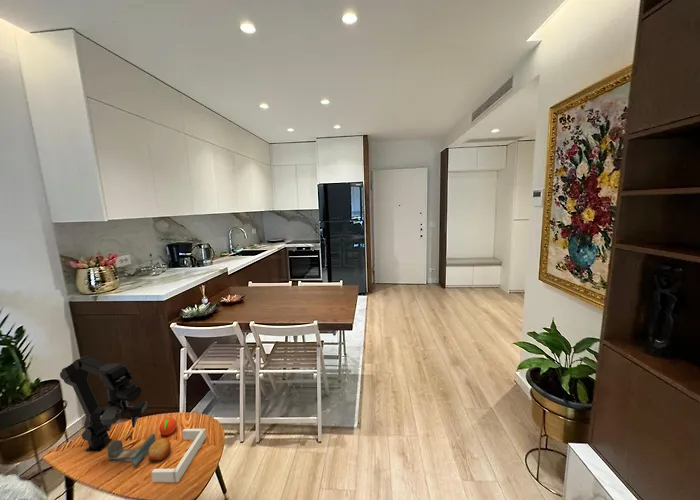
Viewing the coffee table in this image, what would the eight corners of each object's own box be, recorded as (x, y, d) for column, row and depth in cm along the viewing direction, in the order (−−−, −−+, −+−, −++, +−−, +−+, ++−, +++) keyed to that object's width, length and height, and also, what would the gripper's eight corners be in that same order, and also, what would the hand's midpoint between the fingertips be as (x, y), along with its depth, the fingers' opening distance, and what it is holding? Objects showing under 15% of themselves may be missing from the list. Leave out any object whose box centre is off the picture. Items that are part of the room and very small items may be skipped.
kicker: (99, 468, 118) (97, 455, 117) (122, 444, 130) (120, 432, 129) (136, 468, 118) (134, 455, 117) (156, 444, 129) (154, 432, 129)
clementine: (175, 437, 133) (173, 423, 132) (157, 442, 131) (155, 428, 130) (178, 425, 141) (177, 412, 140) (162, 429, 139) (160, 416, 137)
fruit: (178, 442, 129) (170, 436, 124) (168, 464, 123) (159, 458, 118) (161, 441, 130) (152, 435, 124) (151, 462, 123) (141, 456, 118)
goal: (152, 482, 112) (151, 472, 111) (185, 437, 133) (184, 428, 133) (178, 482, 112) (176, 472, 111) (206, 437, 133) (205, 428, 133)
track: (108, 462, 121) (108, 461, 121) (119, 451, 127) (119, 449, 126) (139, 462, 121) (139, 460, 121) (149, 450, 126) (148, 449, 126)
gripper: (77, 412, 111) (83, 448, 113) (133, 405, 115) (137, 440, 117) (95, 393, 122) (100, 427, 124) (145, 388, 126) (149, 420, 128)
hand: (121, 429), depth 123 cm, fingers open, 9 cm apart
